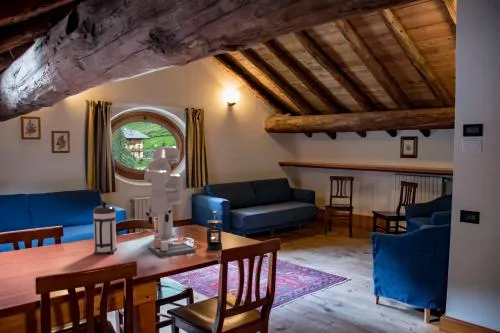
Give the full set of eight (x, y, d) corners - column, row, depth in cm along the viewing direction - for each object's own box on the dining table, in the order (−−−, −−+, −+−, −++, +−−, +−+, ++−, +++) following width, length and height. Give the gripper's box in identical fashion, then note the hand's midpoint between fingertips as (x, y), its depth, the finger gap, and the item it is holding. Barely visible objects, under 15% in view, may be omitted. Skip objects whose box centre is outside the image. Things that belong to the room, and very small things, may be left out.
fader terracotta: (155, 246, 255) (155, 238, 255) (160, 245, 257) (160, 237, 256) (158, 248, 252) (158, 239, 251) (162, 247, 253) (162, 238, 253)
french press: (226, 248, 259) (226, 211, 258) (214, 251, 252) (214, 213, 251) (213, 245, 267) (213, 209, 266) (202, 248, 261) (201, 211, 259)
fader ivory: (160, 249, 248) (160, 240, 248) (165, 248, 250) (165, 240, 250) (163, 251, 245) (163, 242, 245) (168, 250, 247) (168, 241, 246)
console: (147, 250, 257) (147, 245, 256) (181, 245, 269) (181, 240, 268) (160, 257, 240) (160, 252, 240) (195, 252, 252) (195, 247, 252)
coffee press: (85, 253, 250) (84, 202, 248) (110, 247, 262) (109, 199, 260) (100, 258, 238) (99, 205, 236) (125, 252, 250) (124, 202, 248)
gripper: (169, 191, 251) (170, 220, 252) (141, 193, 241) (141, 223, 242) (175, 192, 245) (175, 222, 246) (146, 194, 235) (146, 225, 236)
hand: (158, 222), depth 244 cm, fingers open, 9 cm apart
